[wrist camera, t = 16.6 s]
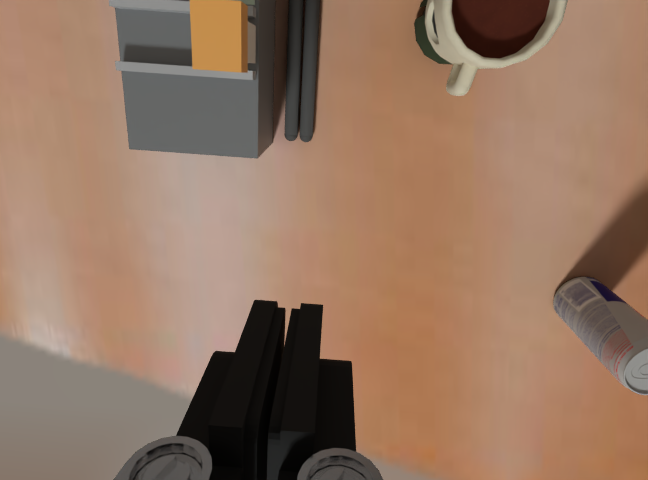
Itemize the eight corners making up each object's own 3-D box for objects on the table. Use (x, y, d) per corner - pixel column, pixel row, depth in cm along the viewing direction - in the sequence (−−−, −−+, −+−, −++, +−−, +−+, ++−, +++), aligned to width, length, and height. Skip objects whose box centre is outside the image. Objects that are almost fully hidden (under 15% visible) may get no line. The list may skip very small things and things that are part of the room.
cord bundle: (291, -50, 35) (289, -54, 34) (323, -48, 35) (322, -52, 34) (285, 139, 40) (283, 141, 39) (312, 141, 40) (311, 143, 39)
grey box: (154, -65, 35) (93, -111, 26) (276, -57, 35) (256, -100, 26) (167, 135, 40) (122, 151, 32) (272, 142, 40) (254, 161, 32)
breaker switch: (220, 13, 29) (189, -3, 23) (261, 16, 29) (240, 1, 23) (221, 70, 30) (192, 69, 24) (260, 72, 30) (241, 72, 24)
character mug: (434, -62, 34) (487, -136, 22) (516, -34, 35) (612, -91, 23) (389, 78, 38) (413, 80, 26) (464, 101, 39) (521, 114, 26)
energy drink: (604, 313, 46) (689, 390, 35) (553, 323, 47) (621, 402, 35) (603, 270, 44) (693, 336, 33) (550, 281, 45) (620, 350, 34)
